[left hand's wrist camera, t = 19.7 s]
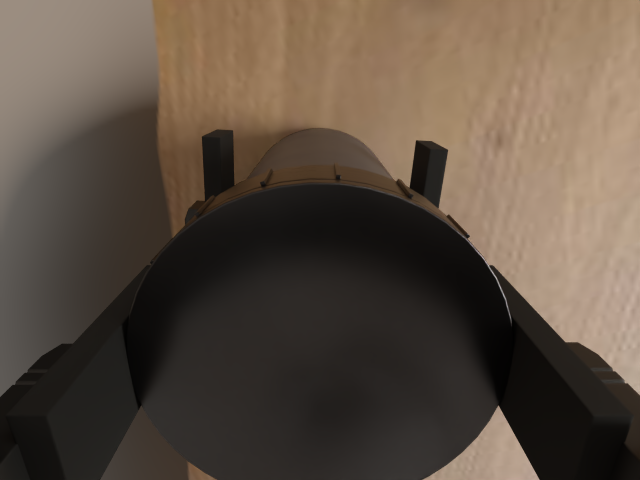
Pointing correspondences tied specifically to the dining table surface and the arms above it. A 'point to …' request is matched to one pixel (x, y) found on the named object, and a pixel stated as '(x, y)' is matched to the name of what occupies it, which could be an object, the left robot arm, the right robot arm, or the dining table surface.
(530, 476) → the dining table surface
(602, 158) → the dining table surface
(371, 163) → the jar
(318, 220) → the lid
